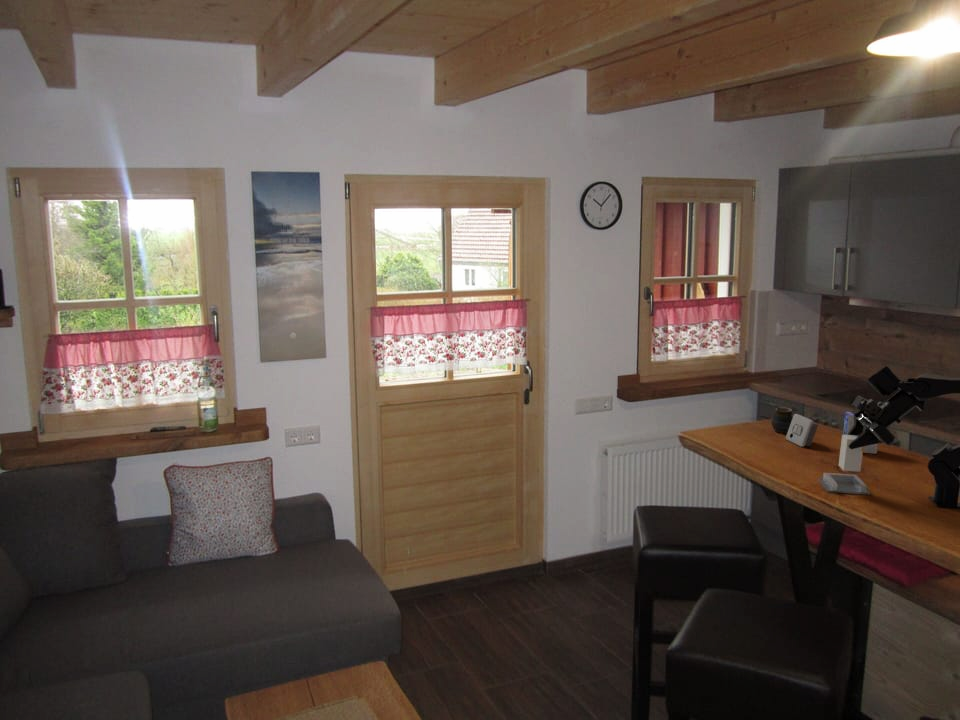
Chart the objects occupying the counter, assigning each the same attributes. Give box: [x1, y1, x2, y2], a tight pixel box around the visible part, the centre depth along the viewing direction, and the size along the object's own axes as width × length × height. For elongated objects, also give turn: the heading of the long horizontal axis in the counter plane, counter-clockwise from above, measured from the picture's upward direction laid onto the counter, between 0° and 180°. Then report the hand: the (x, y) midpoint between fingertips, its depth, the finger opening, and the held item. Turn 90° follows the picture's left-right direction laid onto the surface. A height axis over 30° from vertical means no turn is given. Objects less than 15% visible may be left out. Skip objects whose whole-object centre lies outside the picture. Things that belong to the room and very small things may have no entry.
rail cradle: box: [817, 472, 871, 496], centre depth 221 cm, size 10×11×2 cm
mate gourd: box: [771, 404, 793, 434], centre depth 275 cm, size 7×8×10 cm
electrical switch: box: [785, 413, 819, 448], centre depth 262 cm, size 9×5×9 cm, turn 13°
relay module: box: [838, 434, 865, 472], centre depth 218 cm, size 4×5×9 cm
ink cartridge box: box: [842, 411, 879, 455], centre depth 254 cm, size 10×6×14 cm, turn 79°
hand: (846, 445), depth 218 cm, fingers closed on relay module, 4 cm apart
